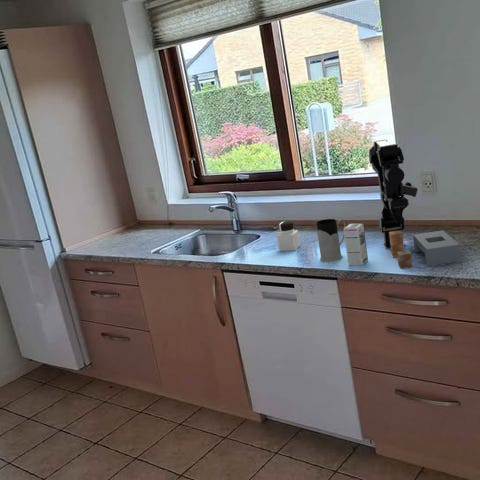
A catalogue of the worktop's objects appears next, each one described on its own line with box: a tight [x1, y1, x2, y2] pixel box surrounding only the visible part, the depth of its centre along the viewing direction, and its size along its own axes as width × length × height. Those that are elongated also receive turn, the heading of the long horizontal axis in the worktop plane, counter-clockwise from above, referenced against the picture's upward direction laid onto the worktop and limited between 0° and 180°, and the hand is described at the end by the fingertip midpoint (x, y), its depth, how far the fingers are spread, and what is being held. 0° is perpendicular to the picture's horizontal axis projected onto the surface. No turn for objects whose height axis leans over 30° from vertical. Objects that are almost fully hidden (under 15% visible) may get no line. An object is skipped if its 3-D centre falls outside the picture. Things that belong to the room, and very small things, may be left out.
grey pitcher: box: [316, 218, 347, 263], centre depth 220 cm, size 9×14×15 cm, turn 126°
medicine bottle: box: [276, 220, 301, 252], centre depth 243 cm, size 7×7×12 cm
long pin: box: [389, 230, 405, 259], centre depth 209 cm, size 4×4×9 cm
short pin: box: [397, 249, 413, 270], centre depth 197 cm, size 4×4×5 cm
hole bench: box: [412, 230, 462, 267], centre depth 202 cm, size 11×20×6 cm, turn 176°
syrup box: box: [343, 222, 369, 266], centre depth 208 cm, size 6×6×14 cm
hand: (396, 221), depth 207 cm, fingers open, 9 cm apart
